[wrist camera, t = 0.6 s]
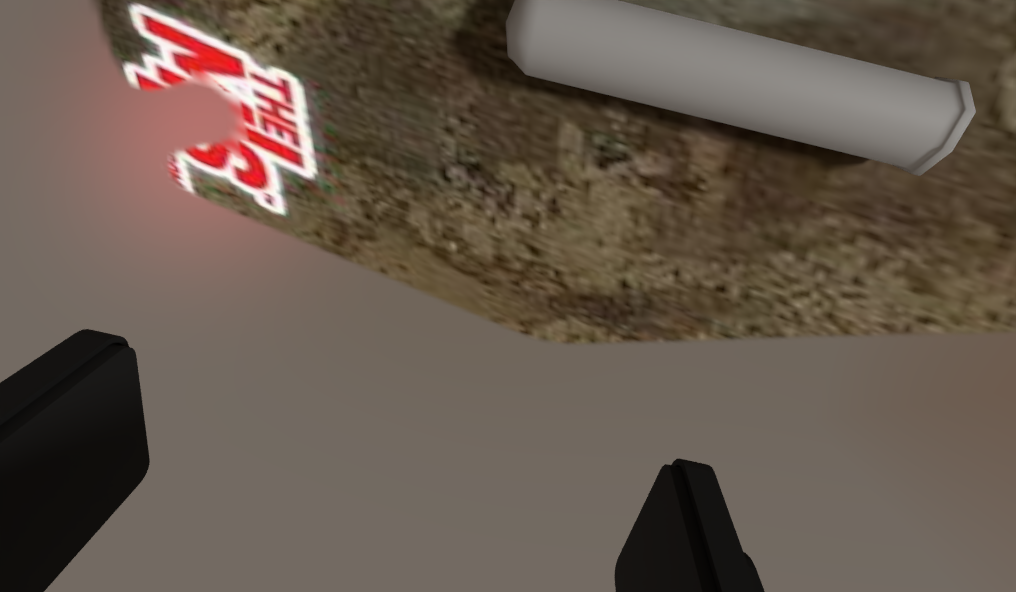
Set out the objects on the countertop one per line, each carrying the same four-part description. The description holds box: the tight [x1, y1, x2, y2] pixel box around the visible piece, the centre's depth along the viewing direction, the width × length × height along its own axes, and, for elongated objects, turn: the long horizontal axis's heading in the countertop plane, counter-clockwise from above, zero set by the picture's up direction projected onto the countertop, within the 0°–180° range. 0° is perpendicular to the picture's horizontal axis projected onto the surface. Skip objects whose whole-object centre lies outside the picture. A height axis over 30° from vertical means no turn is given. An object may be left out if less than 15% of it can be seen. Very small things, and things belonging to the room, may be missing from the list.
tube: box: [506, 0, 976, 176], centre depth 30 cm, size 5×5×25 cm
